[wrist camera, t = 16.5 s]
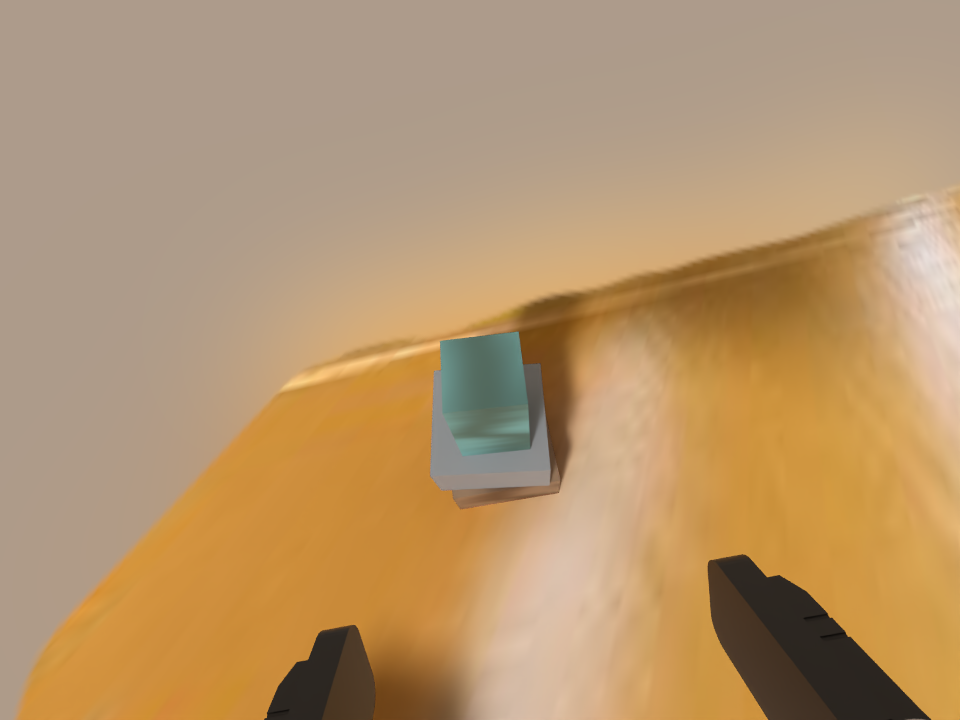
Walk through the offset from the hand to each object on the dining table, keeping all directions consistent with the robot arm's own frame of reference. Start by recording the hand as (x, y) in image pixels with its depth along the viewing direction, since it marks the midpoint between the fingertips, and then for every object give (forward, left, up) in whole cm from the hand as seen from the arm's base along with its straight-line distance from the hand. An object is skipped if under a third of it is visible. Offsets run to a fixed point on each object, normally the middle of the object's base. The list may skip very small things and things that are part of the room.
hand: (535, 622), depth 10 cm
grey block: (+1, -13, -22) cm, 25 cm away
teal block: (0, -12, -18) cm, 22 cm away
